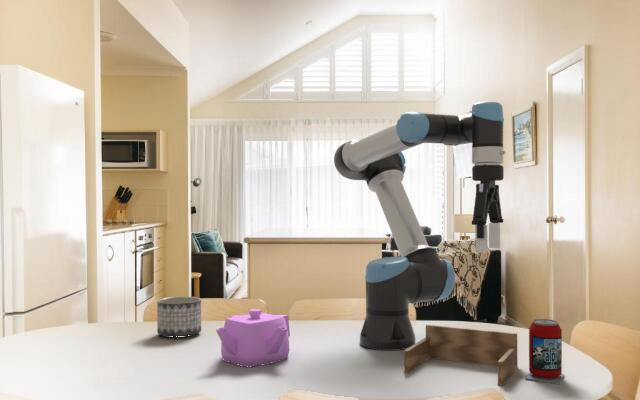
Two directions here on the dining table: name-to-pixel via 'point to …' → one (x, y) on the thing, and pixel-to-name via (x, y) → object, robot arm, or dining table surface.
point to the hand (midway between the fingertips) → (488, 250)
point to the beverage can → (545, 349)
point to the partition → (466, 349)
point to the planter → (179, 316)
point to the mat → (555, 380)
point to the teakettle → (255, 338)
